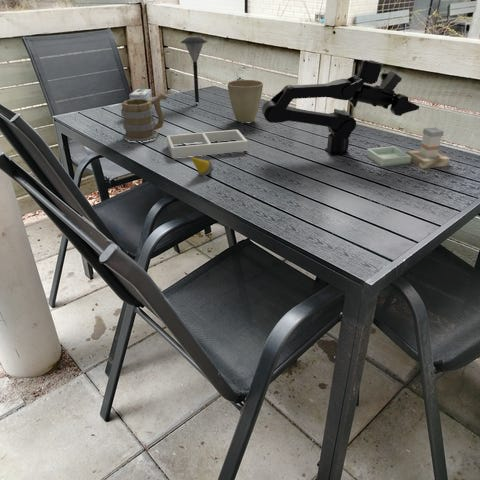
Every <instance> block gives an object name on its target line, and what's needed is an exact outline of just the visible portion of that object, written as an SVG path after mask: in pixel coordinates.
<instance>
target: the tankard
mask: <svg viewBox="0 0 480 480" xmlns="http://www.w3.org/2000/svg"><path fill="white" fill-rule="evenodd" d="M167 99H168V96H167V95H165V94H163V93H159V94H158V96H156V97H154V98H152V100H147V99H130V98H129V99H126V100H124V101H123V102H122V103H121V107H122V109H121V110H120V113H121V117H123V121H124V122H122V125H123V129H124V131H125V133H124V134H123V135H122V139H123V138H125V139H127V140H129V141H141V142H143V141H147V140H150V139H154V138H156V136H157V135H158V136H159V132H158V131H156V130H159V129H161V128H163V125H164V122H165V114H164V112H163V111H162V107H161V101H162V100H163V101H166V100H167ZM152 105H154V106H153V107H152ZM155 112H156V115H157V117H158V121H157V122H156V120H155V119H154V116H153V115H154V114H155ZM156 139H157V138H156Z"/></svg>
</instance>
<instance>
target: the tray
mask: <svg viewBox="0 0 480 480" xmlns="http://www.w3.org/2000/svg"><path fill="white" fill-rule="evenodd" d="M365 156H366V157H367V158H368V159H370V160H371V161H373V162H374V163H376V164H377V165H378V166H380V167H383V168H384V167H393V166H401V165H409V164H411V157H412V156H410V155H408V154H407V152H406V151H403V150H401V149H399V148H398V147H397V146H395V145H391V146H382V147H373V148H367V149H366V151H365Z"/></svg>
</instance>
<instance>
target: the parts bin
mask: <svg viewBox="0 0 480 480" xmlns="http://www.w3.org/2000/svg"><path fill="white" fill-rule="evenodd" d="M233 139H236V140H237V141H228V142H217V143H211V142H210V141H222V140H233ZM194 142H203V144H196V145H185V146H174V145H173V144H182V143H194ZM166 143H167V145H168V146H167V148H168V147H169V149H168V151H169V150H170V151H169V154H170V153H171V154H170V156H171V155H172V156H171V159H172V158H178V157H188V156H199V155H209V154H218V153H230V152H241V153H244V152H243V151H248V150H249V147H248V146H249V144H248V143H249V141H248V140H247V138H246V137H245V136H244V135H243V134H242V133H241V131H240V130H239V129H229V130H227V129H226V130H217V131H205V132H194V133H184V134H183V133H182V134H171V135H170V134H169V135H166Z"/></svg>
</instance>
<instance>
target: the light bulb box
mask: <svg viewBox="0 0 480 480" xmlns="http://www.w3.org/2000/svg"><path fill="white" fill-rule="evenodd" d="M128 96H129V100H130V99H147V100H153V97H152V89H151V88H149V89H147V88H137V89H135V90H134V91H133V92H131V93H129V95H128ZM153 105H154V104H153ZM153 105H152V107H154V106H153Z"/></svg>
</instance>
